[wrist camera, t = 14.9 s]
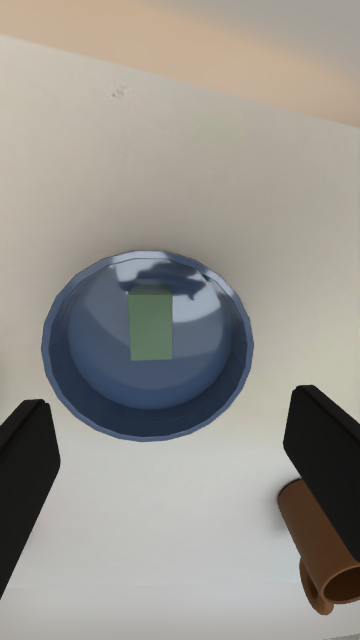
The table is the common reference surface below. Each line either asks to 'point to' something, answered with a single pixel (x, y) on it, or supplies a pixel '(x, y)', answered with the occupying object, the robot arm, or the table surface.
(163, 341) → the packet green
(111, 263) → the blue round dish
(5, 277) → the table surface
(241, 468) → the table surface
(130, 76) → the table surface
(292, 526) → the mug
